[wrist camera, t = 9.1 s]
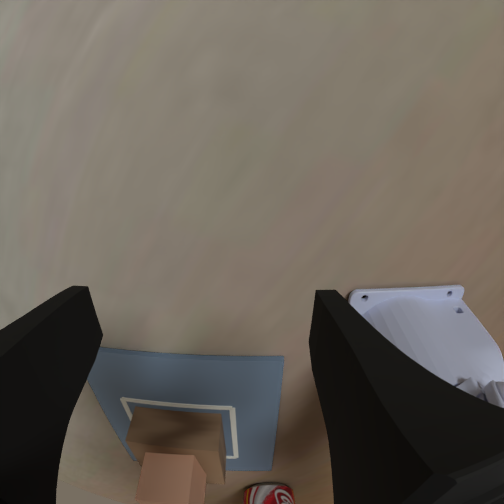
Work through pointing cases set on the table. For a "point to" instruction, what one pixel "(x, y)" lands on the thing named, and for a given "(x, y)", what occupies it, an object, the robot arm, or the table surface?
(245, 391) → the blueprint board
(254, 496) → the soda can
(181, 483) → the terracotta block
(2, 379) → the robot arm
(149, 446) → the walnut base block
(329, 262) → the table surface
